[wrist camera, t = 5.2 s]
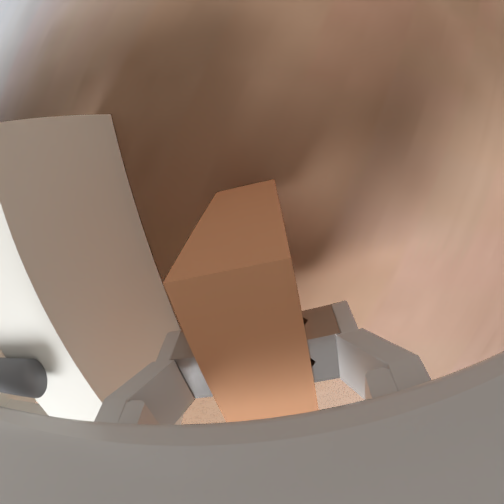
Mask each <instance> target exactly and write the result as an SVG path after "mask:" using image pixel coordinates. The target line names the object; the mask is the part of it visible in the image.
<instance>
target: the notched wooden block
mask: <svg viewBox="0 0 504 504" xmlns="http://www.w3.org/2000/svg"><path fill="white" fill-rule="evenodd" d="M163 285H164V287H165V290H166V292H167V295H168V297H169V300H170V302H171V305H172V307H173V309H174V312H175V314H176V317H177V319H178V321H179V324H180V326H181V328H182V330H183V333H184V335H185V337H186V340H187V342H188V344H189V346H190V348H191V351H192V353H193V355H194V357H195V359H196V362H197V364H198V366H199V368H200V370H201V372H202V374H203V376H204V378H205V380H206V383H207V385H208V387H209V389H210V391H211V393H212V395H213V397H214V399H215V401H216V403H217V405H218V407H219V409H220V411H221V412H222V414H223V416H224V418H225V420H226V422H236V421H247V420H256V419H265V418H273V417H280V416H287V415H293V414H300V413H306V412H312V411H317V410H318V403H317V397H316V391H315V385H314V379H313V373H312V367H311V361H310V355H309V349H308V344H307V338H306V333H305V327H304V322H303V316H302V311H301V305H300V300H299V295H298V290H297V285H296V280H295V275H294V270H293V265H292V260H291V255H290V250H289V245H288V240H287V235H286V231H285V226H284V221H283V217H282V212H281V207H280V203H279V198H278V194H277V189H276V185H275V180H274V179H273V180H268V181H263V182H259V183H254V184H250V185H246V186H241V187H237V188H233V189H228V190H224V191H220V192H216V194H215V196H214V197H213V199H212V200H211V202H210V204H209V205H208V207H207V209H206V210H205V212H204V213H203V215H202V217H201V218H200V220H199V222H198V223H197V225H196V227H195V228H194V230H193V232H192V233H191V235H190V237H189V238H188V240H187V242H186V244H185V245H184V247H183V249H182V250H181V252H180V254H179V256H178V257H177V259H176V261H175V263H174V264H173V266H172V268H171V270H170V271H169V273H168V275H167V277H166V278H165V280H164V282H163Z"/></svg>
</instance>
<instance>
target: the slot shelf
mask: <svg viewBox="0 0 504 504" xmlns="http://www.w3.org/2000/svg"><path fill="white" fill-rule="evenodd" d="M179 330H181V329H180V327H179V324H178V322H177V320H176V317H175V315H174V312H173V310H172V307H171V305H170V302H169V299H168V297H167V294H166V292H165V289H164V286H163V284H162V281H161V278H160V276H159V273H158V270H157V267H156V265H155V262H154V259H153V256H152V253H151V251H150V248H149V245H148V242H147V239H146V236H145V233H144V230H143V227H142V224H141V221H140V218H139V215H138V211H137V208H136V205H135V202H134V199H133V195H132V192H131V189H130V185H129V182H128V178H127V175H126V171H125V168H124V164H123V160H122V157H121V153H120V149H119V145H118V142H117V138H116V134H115V130H114V126H113V121H112V117H111V114H91V115H68V116H53V117H40V118H30V119H21V120H12V121H5V122H0V406H1V407H6V408H10V409H15V410H19V411H24V412H29V413H35V414H40V415H46V416H53V417H60V418H67V419H75V420H84V421H94V420H95V418H96V416H97V414H98V412H99V409H100V407H101V405H102V403H103V401H104V399H105V398H106V397H108V396H109V395H110V394H111V393H113V392H114V391H115V390H117V389H118V388H119V387H120V386H122V385H123V384H124V383H126V382H127V381H128V380H129V379H131V378H132V377H133V376H134V375H136V374H137V373H138V372H140V371H141V370H142V369H143V368H145V367H146V366H147V365H148V364H150V363H151V362H156V359H157V357H158V354H159V352H160V349H161V347H162V344H163V342H164V340H165V337H166V335H167V333H168V332H171V331H179ZM36 401H37V402H38V403H39V404H37V403H35V402H36ZM183 414H184V413H183ZM182 418H183V415H182V416H181V417H180V418H179V419H178V421H177V422H176V423H175V424H174V425H181V422H182Z"/></svg>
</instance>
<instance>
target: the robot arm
mask: <svg viewBox="0 0 504 504" xmlns="http://www.w3.org/2000/svg"><path fill="white" fill-rule="evenodd" d="M302 316H303V322H304V327H305V333H306V338H307V344H308V349H309V355H310V361H311V367H312V373H313V379H314V382H319V381H325V380H330V379H336V378H340V379H341V380H342V381H343V382H345V383H346V384H347V385H348V386H349V387H350V388H352V389H353V390H354V391H355V392H356V393H358V394H359V395H360V396H361V397H362V398H364V399H365V400H364V401H360V402H355V403H351V404H347V405H342V406H337V407H332V408H327V409H322V410H317V411H312V412H306V413H300V414H293V415H287V416H280V417H273V418H265V419H256V420H247V421H236V422H224V423H208V424H183V425H174V424H175V423H176V422H177V421H178V419H179V418H180V417H181V416H182V415H183V413H184V412H185V411H186V410H187V409H188V407H189V406H190V405H191V404H192V403H193V401H194V400H195V399H194V398H203V397H213V395H212V393H211V391H210V389H209V387H208V385H207V383H206V380H205V378H204V376H203V374H202V372H201V370H200V368H199V366H198V364H197V362H196V359H195V357H194V355H193V353H192V351H191V348H190V346H189V344H188V342H187V340H186V337H185V335H184V333H183V330H179V331H171V332H168V333H167V335H166V337H165V340H164V342H163V344H162V347H161V349H160V352H159V354H158V357H157V359H156V362H151V363H150V364H148V365H147V366H146V367H145V368H143V369H142V370H141V371H140V372H138V373H137V374H136V375H134V376H133V377H132V378H131V379H129V380H128V381H127V382H126V383H124V384H123V385H122V386H120V387H119V388H118V389H117V390H115V391H114V392H113V393H111V394H110V395H109V396H108V397H106V398H105V399H104V401H103V403H102V405H101V407H100V409H99V412H98V414H97V416H96V418H95V420H94V421H84V420H75V419H67V418H60V417H53V416H46V415H40V414H35V413H29V412H24V411H19V410H15V409H10V408H6V407H1V406H0V504H504V351H503V352H501V353H499V354H497V355H494V356H492V357H490V358H488V359H485V360H483V361H481V362H478V363H476V364H474V365H471V366H469V367H466V368H464V369H461V370H459V371H456V372H453V373H451V374H448V375H445V376H443V377H440V378H437V379H434V380H431V378H430V376H429V374H428V372H427V371H426V369H425V367H424V365H423V363H422V361H421V359H420V357H419V356H418V355H416V354H414V353H412V352H410V351H408V350H406V349H404V348H402V347H400V346H398V345H396V344H393V343H391V342H389V341H387V340H385V339H383V338H381V337H379V336H377V335H375V334H373V333H371V332H369V331H367V330H365V329H363V328H362V329H358V327H357V324H356V322H355V319H354V317H353V314H352V312H351V310H350V307H349V305H348V303H347V301H341V302H337V303H333V304H330V305H326V306H322V307H317V308H313V309H308V310H304V311H302Z"/></svg>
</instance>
